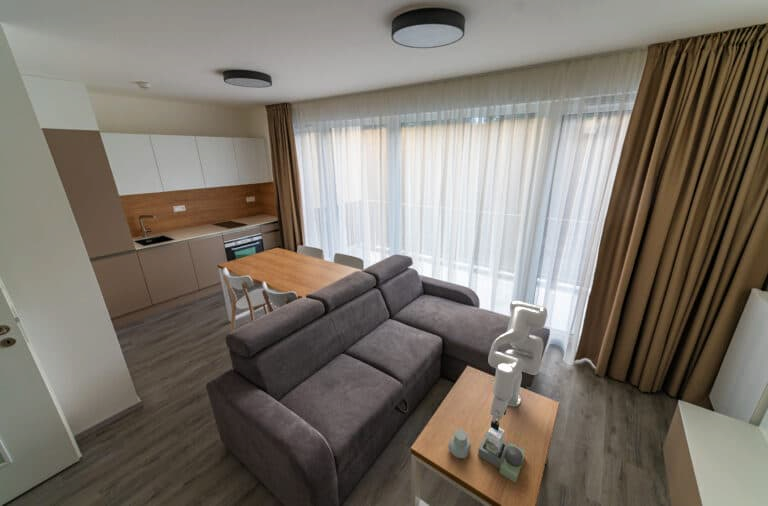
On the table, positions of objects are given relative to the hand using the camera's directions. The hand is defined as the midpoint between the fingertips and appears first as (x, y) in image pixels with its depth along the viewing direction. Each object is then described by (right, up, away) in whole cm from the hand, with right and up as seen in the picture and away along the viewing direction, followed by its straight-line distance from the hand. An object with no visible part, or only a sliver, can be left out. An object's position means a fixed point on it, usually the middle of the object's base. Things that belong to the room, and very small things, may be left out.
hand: (498, 420), depth 129 cm
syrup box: (0, -19, +6) cm, 20 cm away
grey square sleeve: (+3, -20, +4) cm, 20 cm away
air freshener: (-15, -19, +8) cm, 26 cm away
